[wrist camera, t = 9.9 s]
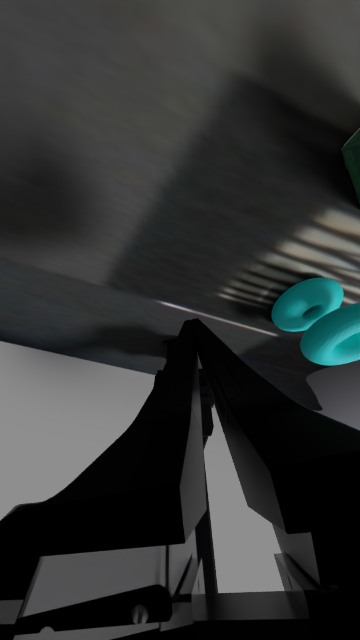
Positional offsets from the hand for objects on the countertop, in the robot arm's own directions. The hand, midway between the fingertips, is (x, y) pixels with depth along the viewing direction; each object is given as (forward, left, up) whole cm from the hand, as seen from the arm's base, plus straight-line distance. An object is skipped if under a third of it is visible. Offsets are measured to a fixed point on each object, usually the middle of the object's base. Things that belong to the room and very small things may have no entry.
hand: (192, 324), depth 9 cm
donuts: (-9, -20, -13) cm, 26 cm away
